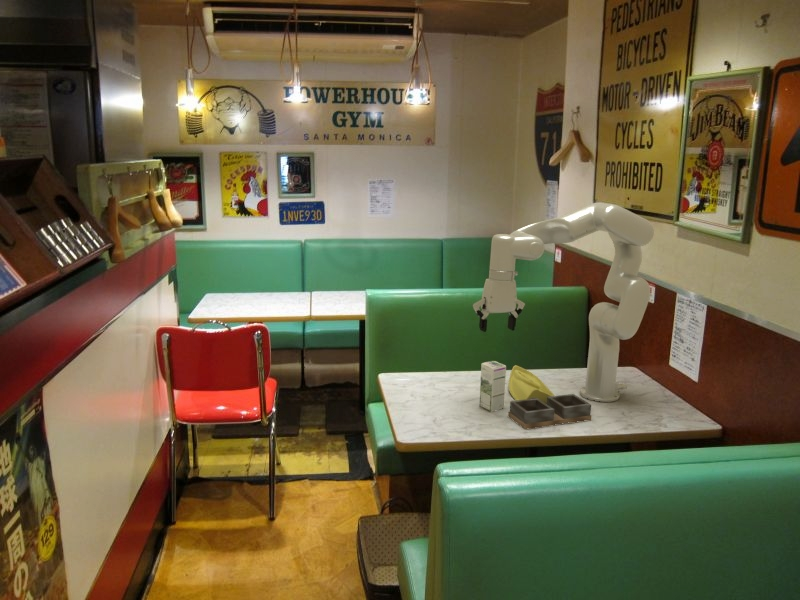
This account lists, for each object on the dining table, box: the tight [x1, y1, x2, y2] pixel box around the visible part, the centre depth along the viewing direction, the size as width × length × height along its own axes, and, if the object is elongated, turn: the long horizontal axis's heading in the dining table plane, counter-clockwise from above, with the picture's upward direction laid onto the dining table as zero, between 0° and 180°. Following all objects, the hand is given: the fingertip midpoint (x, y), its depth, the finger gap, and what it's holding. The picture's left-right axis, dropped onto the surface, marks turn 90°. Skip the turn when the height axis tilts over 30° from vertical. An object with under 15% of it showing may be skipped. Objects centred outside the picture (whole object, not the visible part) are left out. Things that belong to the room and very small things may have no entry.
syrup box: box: [479, 360, 507, 412], centre depth 214 cm, size 6×6×14 cm
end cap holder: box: [507, 393, 592, 430], centre depth 207 cm, size 23×10×5 cm, turn 110°
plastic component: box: [508, 364, 556, 404], centre depth 227 cm, size 20×7×10 cm
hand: (497, 330), depth 210 cm, fingers open, 9 cm apart
